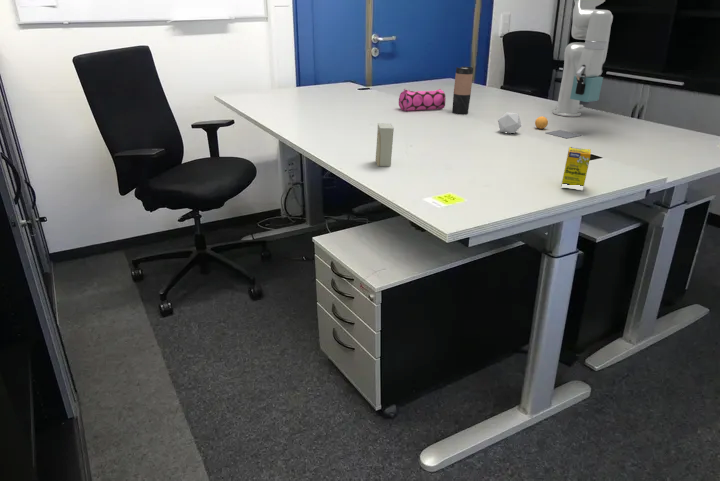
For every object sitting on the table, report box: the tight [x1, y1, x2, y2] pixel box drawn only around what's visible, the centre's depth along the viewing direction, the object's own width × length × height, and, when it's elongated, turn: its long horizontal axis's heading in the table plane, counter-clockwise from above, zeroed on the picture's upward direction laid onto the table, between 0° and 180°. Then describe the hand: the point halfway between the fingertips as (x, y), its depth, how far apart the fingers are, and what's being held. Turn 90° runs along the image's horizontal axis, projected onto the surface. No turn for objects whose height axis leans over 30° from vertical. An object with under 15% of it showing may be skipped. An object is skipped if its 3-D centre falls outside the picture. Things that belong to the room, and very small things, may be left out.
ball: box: [534, 115, 549, 130], centre depth 223 cm, size 5×5×5 cm
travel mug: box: [451, 66, 474, 115], centre depth 245 cm, size 8×8×20 cm
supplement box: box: [561, 146, 592, 186], centre depth 154 cm, size 6×6×11 cm
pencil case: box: [398, 88, 446, 112], centre depth 251 cm, size 21×10×10 cm, turn 114°
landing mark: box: [545, 129, 582, 139], centre depth 217 cm, size 10×10×1 cm
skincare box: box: [375, 122, 395, 167], centre depth 169 cm, size 6×4×12 cm
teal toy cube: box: [570, 76, 604, 103], centre depth 213 cm, size 8×8×9 cm
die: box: [497, 111, 522, 134], centre depth 214 cm, size 8×9×10 cm
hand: (585, 93), depth 214 cm, fingers closed on teal toy cube, 7 cm apart
